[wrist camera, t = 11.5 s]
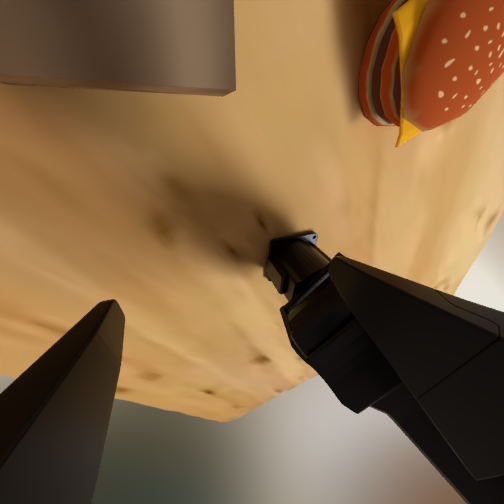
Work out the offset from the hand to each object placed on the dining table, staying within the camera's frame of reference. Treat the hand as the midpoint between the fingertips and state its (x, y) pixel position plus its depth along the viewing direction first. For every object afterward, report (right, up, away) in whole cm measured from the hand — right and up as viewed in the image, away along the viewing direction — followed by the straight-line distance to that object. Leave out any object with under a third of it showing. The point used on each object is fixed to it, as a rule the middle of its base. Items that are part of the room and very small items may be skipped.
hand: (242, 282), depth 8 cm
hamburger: (+13, +18, +9) cm, 24 cm away
